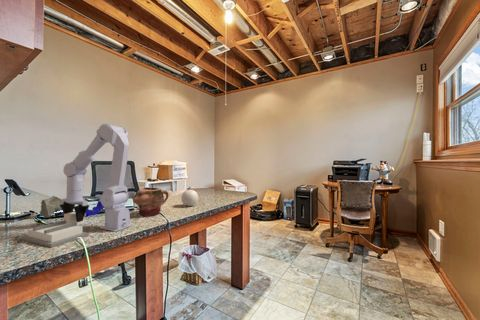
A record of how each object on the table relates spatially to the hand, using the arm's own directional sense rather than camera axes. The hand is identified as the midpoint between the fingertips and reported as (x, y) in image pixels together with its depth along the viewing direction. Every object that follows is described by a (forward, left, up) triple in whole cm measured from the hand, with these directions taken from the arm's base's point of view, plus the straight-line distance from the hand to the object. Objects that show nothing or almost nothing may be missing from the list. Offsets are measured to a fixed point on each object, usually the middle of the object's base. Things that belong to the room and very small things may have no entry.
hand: (74, 220), depth 96 cm
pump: (0, 0, -2) cm, 2 cm away
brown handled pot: (-18, -28, -2) cm, 33 cm away
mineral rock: (+23, -5, -2) cm, 24 cm away
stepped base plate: (-11, +13, -2) cm, 17 cm away
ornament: (-25, -53, -2) cm, 59 cm away
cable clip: (+9, -14, -2) cm, 17 cm away
